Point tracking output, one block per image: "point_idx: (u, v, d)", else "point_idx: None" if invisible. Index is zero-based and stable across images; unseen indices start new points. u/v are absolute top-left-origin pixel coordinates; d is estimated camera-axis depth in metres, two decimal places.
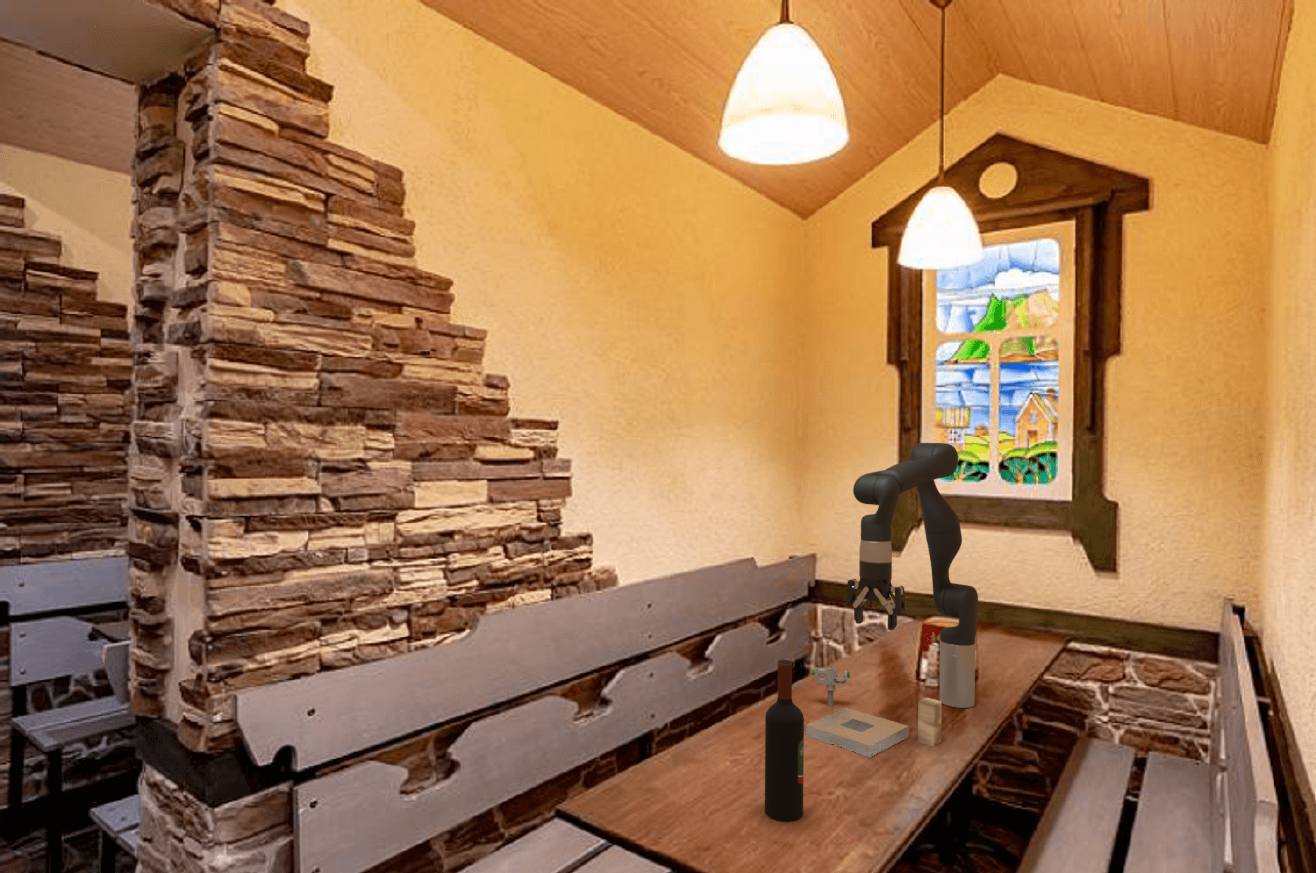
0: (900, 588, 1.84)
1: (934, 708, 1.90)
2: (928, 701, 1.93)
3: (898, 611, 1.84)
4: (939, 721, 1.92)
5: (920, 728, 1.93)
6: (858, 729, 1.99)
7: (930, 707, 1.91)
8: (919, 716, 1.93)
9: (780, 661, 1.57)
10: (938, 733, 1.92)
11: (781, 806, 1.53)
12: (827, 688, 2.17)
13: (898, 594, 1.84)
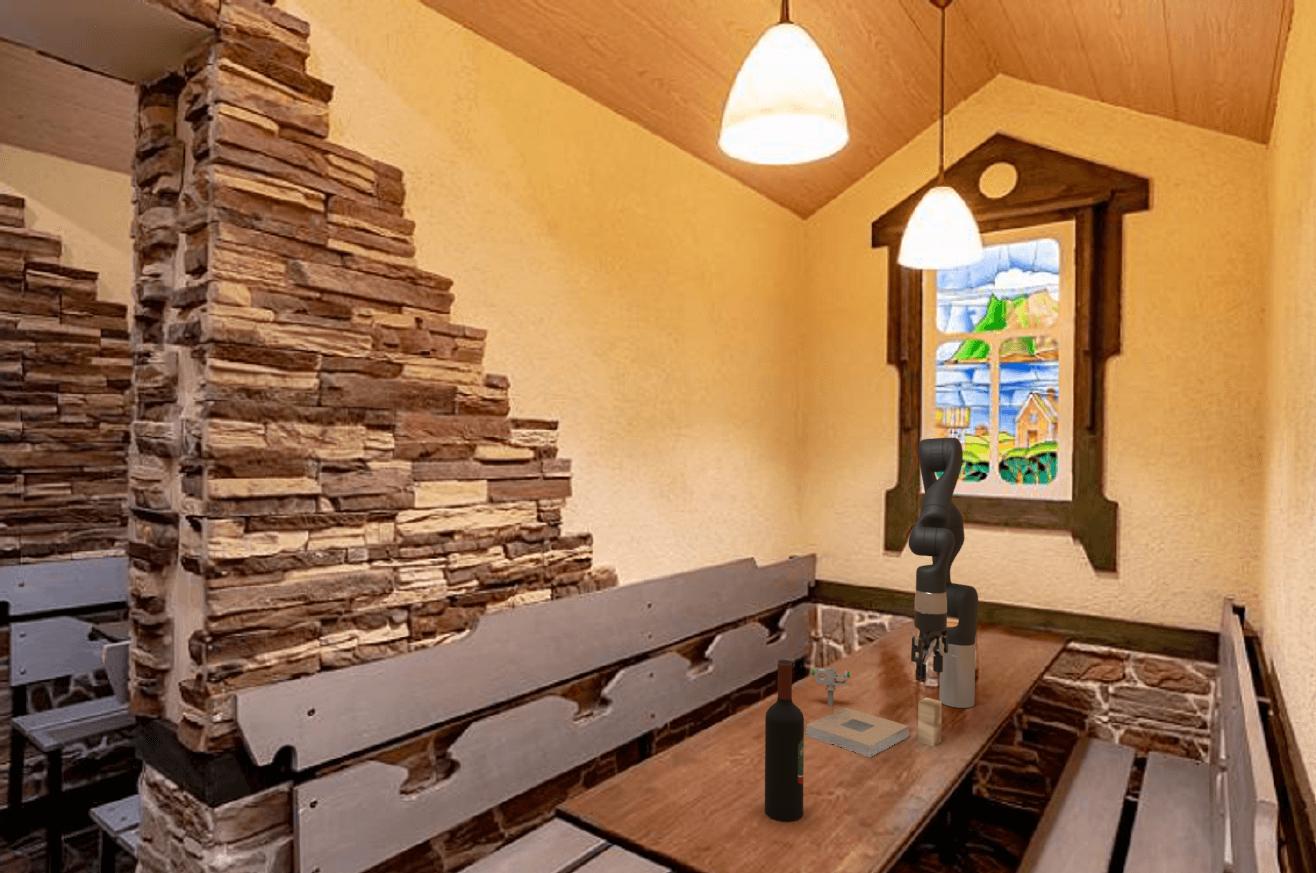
0: None
1: (934, 708, 1.90)
2: (928, 701, 1.93)
3: (947, 651, 1.97)
4: (939, 721, 1.92)
5: (920, 728, 1.93)
6: (858, 729, 1.99)
7: (930, 707, 1.91)
8: (919, 716, 1.93)
9: (780, 661, 1.57)
10: (938, 733, 1.92)
11: (781, 806, 1.53)
12: (827, 688, 2.17)
13: (947, 635, 1.97)
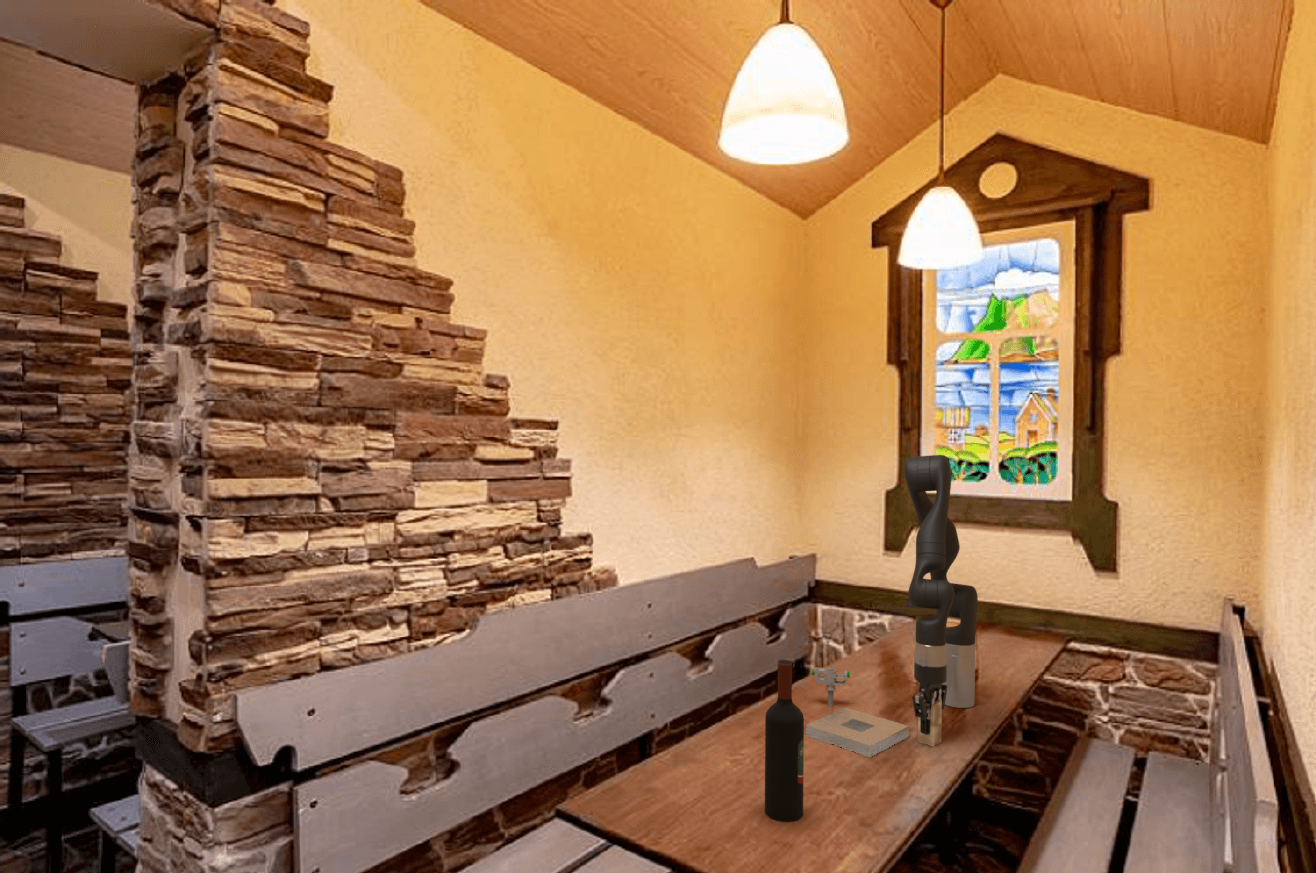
0: None
1: (934, 708, 1.90)
2: None
3: (943, 707, 1.95)
4: (939, 721, 1.92)
5: None
6: (858, 729, 1.99)
7: None
8: None
9: (780, 661, 1.57)
10: (938, 733, 1.92)
11: (781, 806, 1.53)
12: (827, 688, 2.17)
13: (946, 692, 1.96)
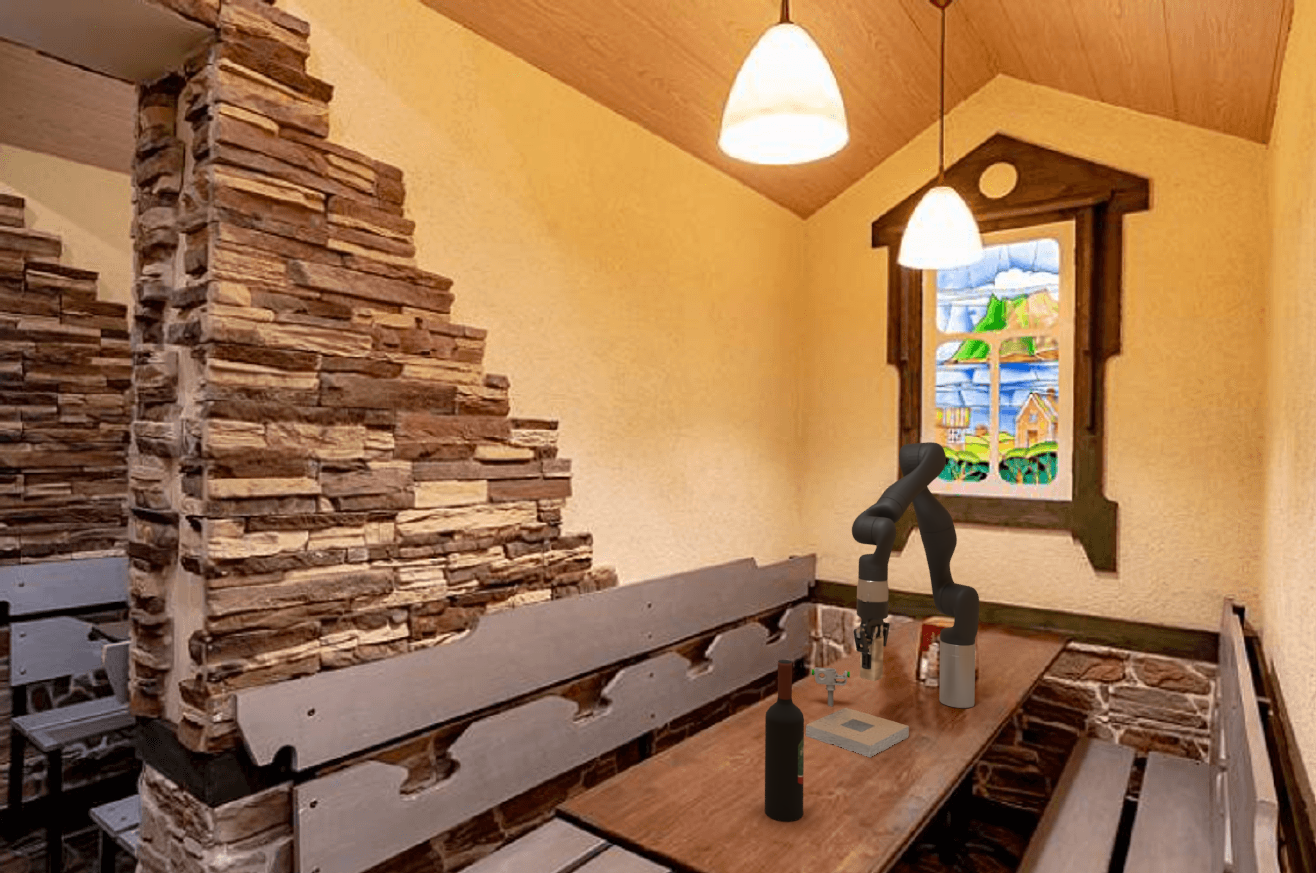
0: None
1: (875, 643, 1.92)
2: None
3: (885, 645, 1.97)
4: (881, 656, 1.94)
5: None
6: (858, 729, 1.99)
7: None
8: None
9: (780, 661, 1.57)
10: (879, 669, 1.94)
11: (781, 806, 1.53)
12: (827, 688, 2.17)
13: (888, 629, 1.98)
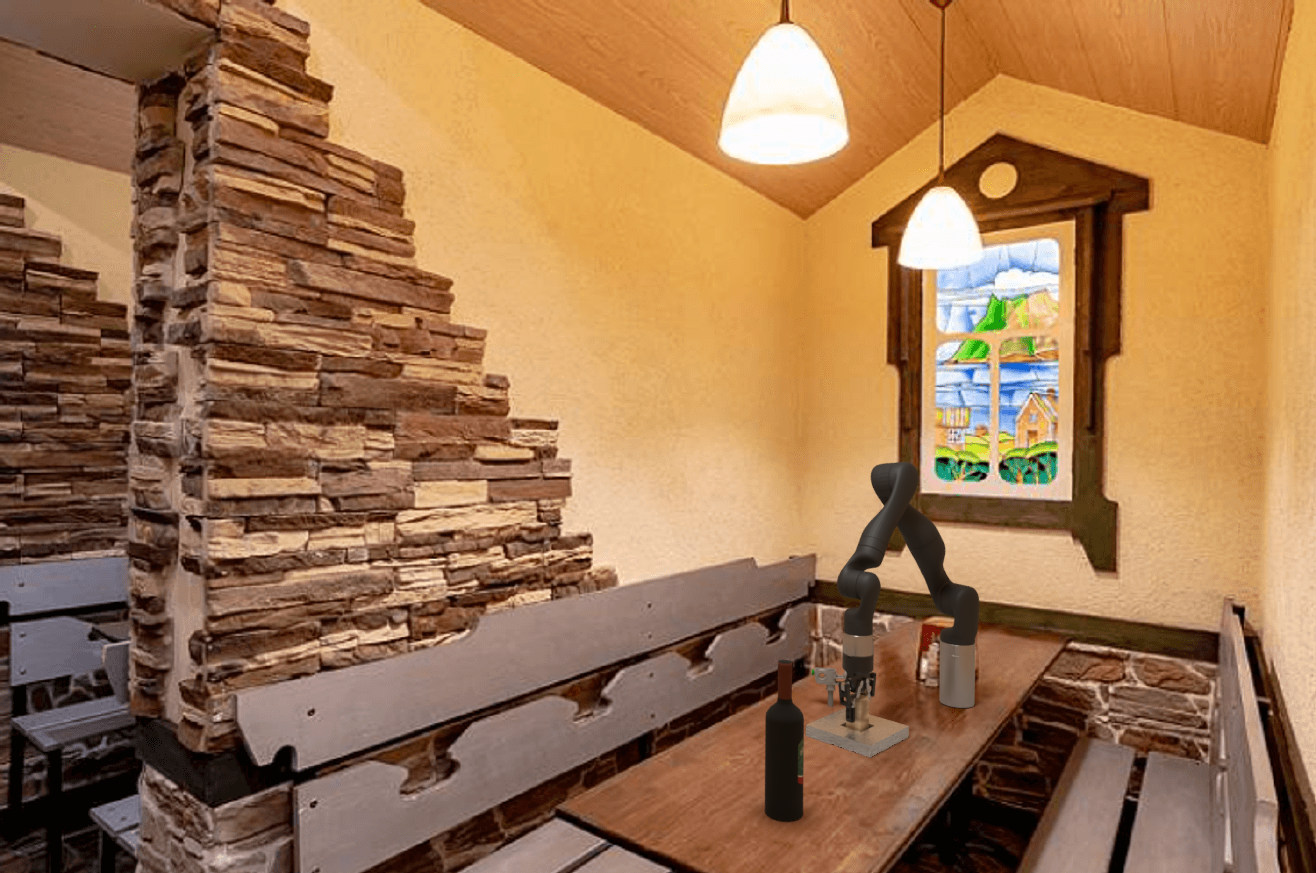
0: None
1: (860, 704, 1.93)
2: None
3: None
4: (866, 716, 1.95)
5: (848, 723, 1.96)
6: None
7: (857, 702, 1.94)
8: None
9: (780, 661, 1.57)
10: (865, 728, 1.95)
11: (781, 806, 1.53)
12: (827, 688, 2.17)
13: (875, 679, 2.00)
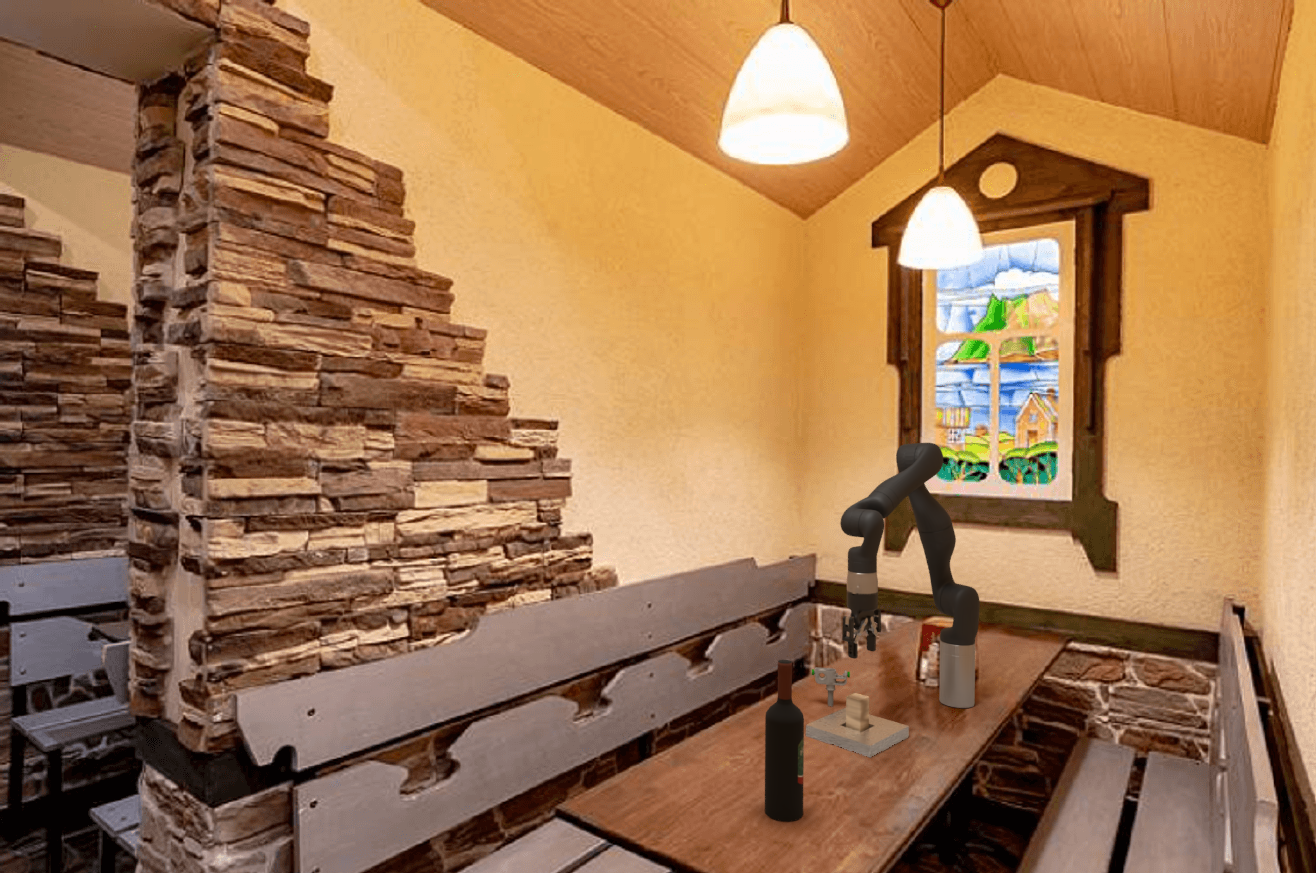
0: None
1: (861, 703, 1.93)
2: (856, 696, 1.96)
3: (880, 630, 2.00)
4: (866, 716, 1.95)
5: (848, 723, 1.96)
6: None
7: (857, 702, 1.94)
8: (847, 711, 1.96)
9: (780, 661, 1.57)
10: (865, 728, 1.95)
11: (781, 806, 1.53)
12: (827, 688, 2.17)
13: (880, 615, 2.00)
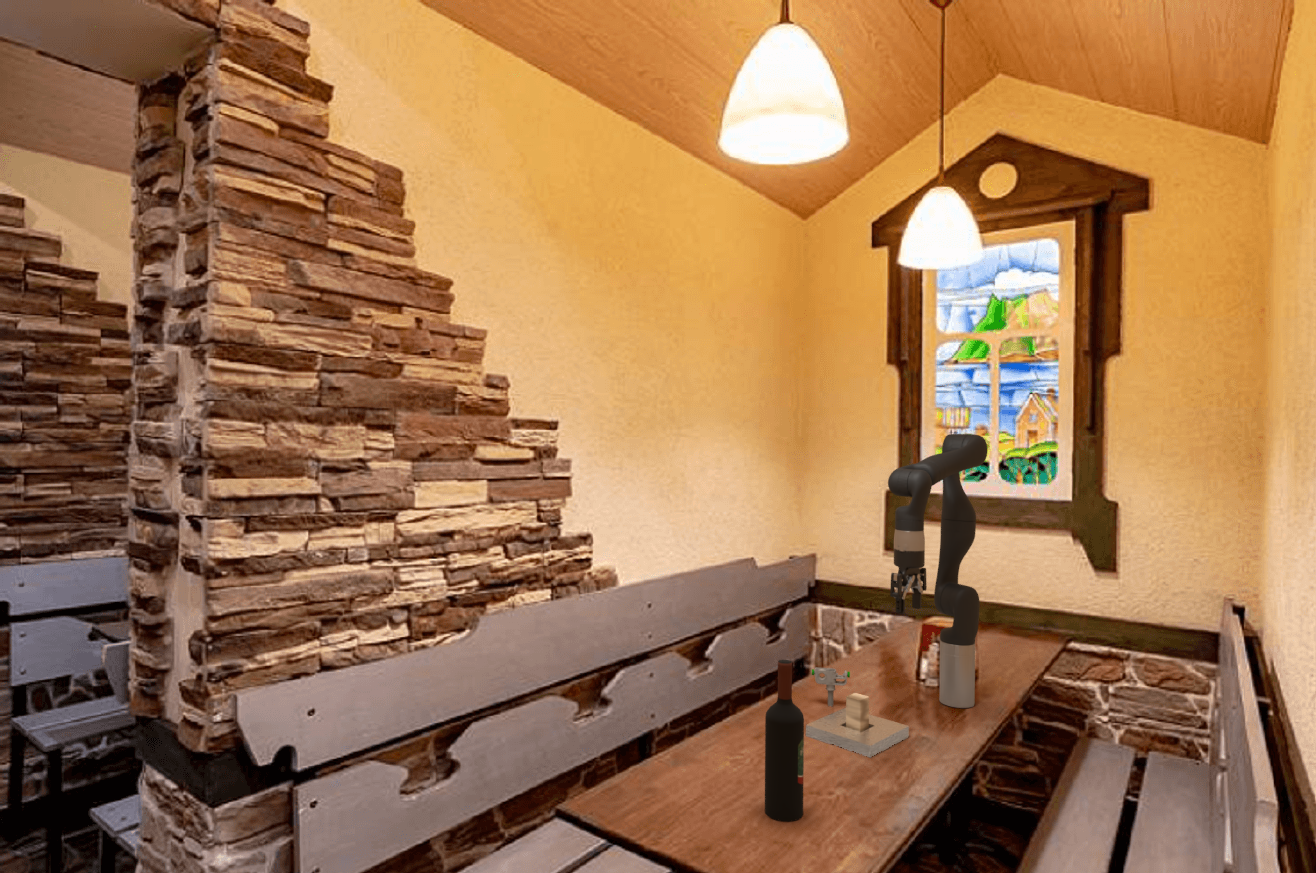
0: None
1: (860, 703, 1.93)
2: (855, 696, 1.96)
3: (925, 589, 2.05)
4: (866, 716, 1.95)
5: (848, 723, 1.96)
6: None
7: (857, 702, 1.94)
8: (847, 711, 1.96)
9: (780, 661, 1.57)
10: (865, 728, 1.95)
11: (781, 806, 1.53)
12: (827, 688, 2.17)
13: (925, 573, 2.05)
